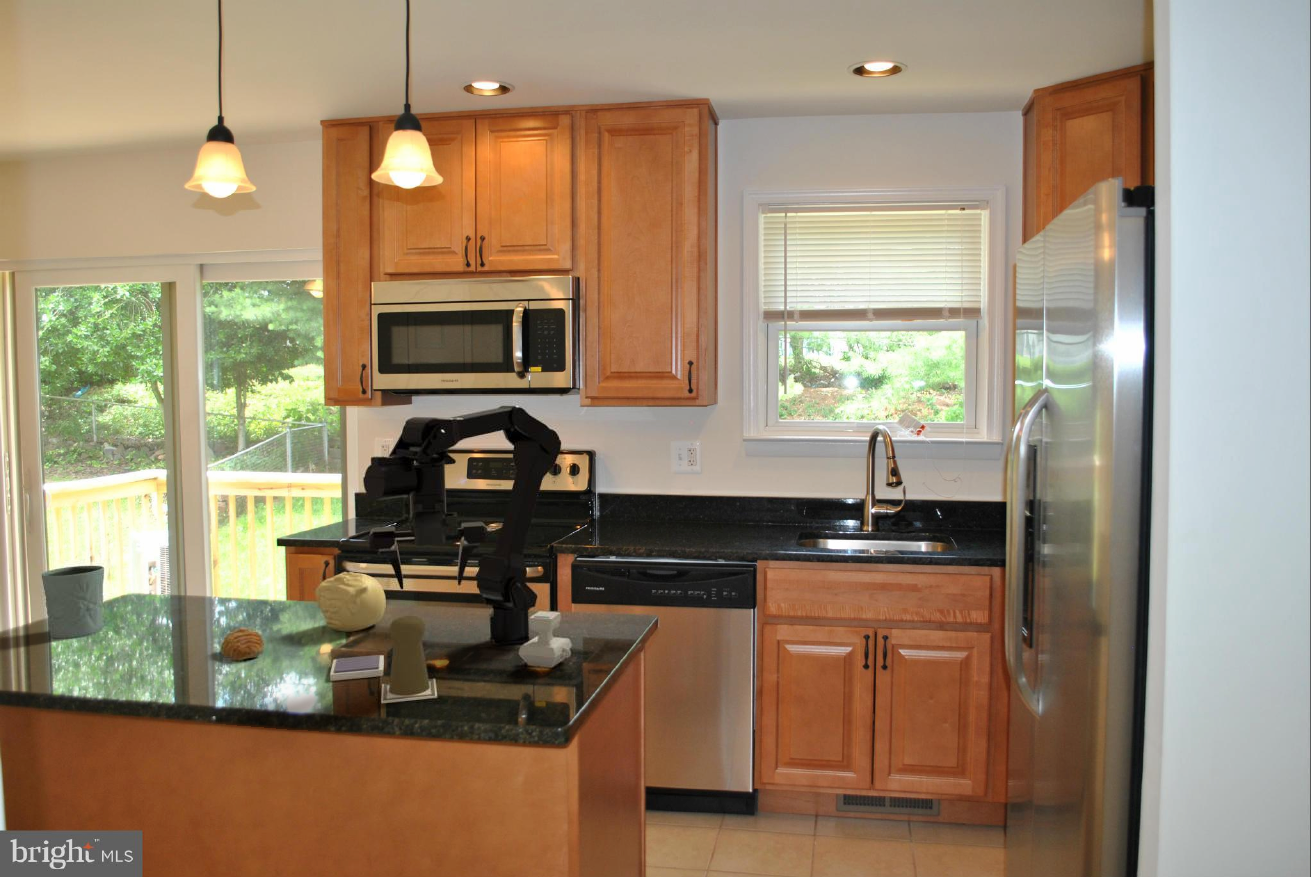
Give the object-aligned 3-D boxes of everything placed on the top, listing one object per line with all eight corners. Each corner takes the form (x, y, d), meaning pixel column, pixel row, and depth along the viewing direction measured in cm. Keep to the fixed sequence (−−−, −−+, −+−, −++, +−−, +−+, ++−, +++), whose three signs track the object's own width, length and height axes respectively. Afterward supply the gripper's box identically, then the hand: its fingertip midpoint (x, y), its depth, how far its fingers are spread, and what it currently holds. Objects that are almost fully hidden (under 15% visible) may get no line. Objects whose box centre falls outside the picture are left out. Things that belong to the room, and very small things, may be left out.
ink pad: (383, 661, 158) (383, 653, 158) (382, 675, 150) (382, 667, 150) (333, 665, 156) (333, 658, 156) (330, 680, 148) (330, 672, 148)
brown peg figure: (427, 694, 140) (425, 622, 139) (386, 696, 139) (383, 624, 138) (431, 680, 146) (429, 611, 145) (391, 682, 145) (389, 613, 144)
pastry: (270, 658, 161) (269, 636, 161) (228, 666, 157) (227, 643, 157) (259, 645, 169) (258, 624, 169) (218, 652, 165) (217, 631, 165)
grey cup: (48, 642, 171) (44, 578, 171) (42, 631, 179) (38, 569, 178) (111, 632, 178) (108, 570, 177) (102, 622, 186) (99, 562, 185)
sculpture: (307, 630, 177) (305, 574, 176) (358, 616, 187) (356, 563, 187) (348, 639, 171) (346, 581, 170) (398, 623, 181) (396, 568, 181)
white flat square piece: (435, 680, 147) (435, 678, 147) (437, 697, 140) (436, 695, 140) (382, 685, 145) (382, 683, 145) (381, 703, 138) (381, 700, 138)
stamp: (512, 668, 153) (511, 617, 153) (530, 656, 159) (529, 607, 159) (562, 673, 150) (561, 621, 150) (579, 660, 157) (577, 611, 156)
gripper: (366, 502, 144) (370, 602, 145) (489, 496, 149) (492, 593, 150) (369, 493, 154) (372, 587, 156) (483, 488, 159) (486, 579, 160)
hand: (430, 586), depth 155 cm, fingers open, 9 cm apart
